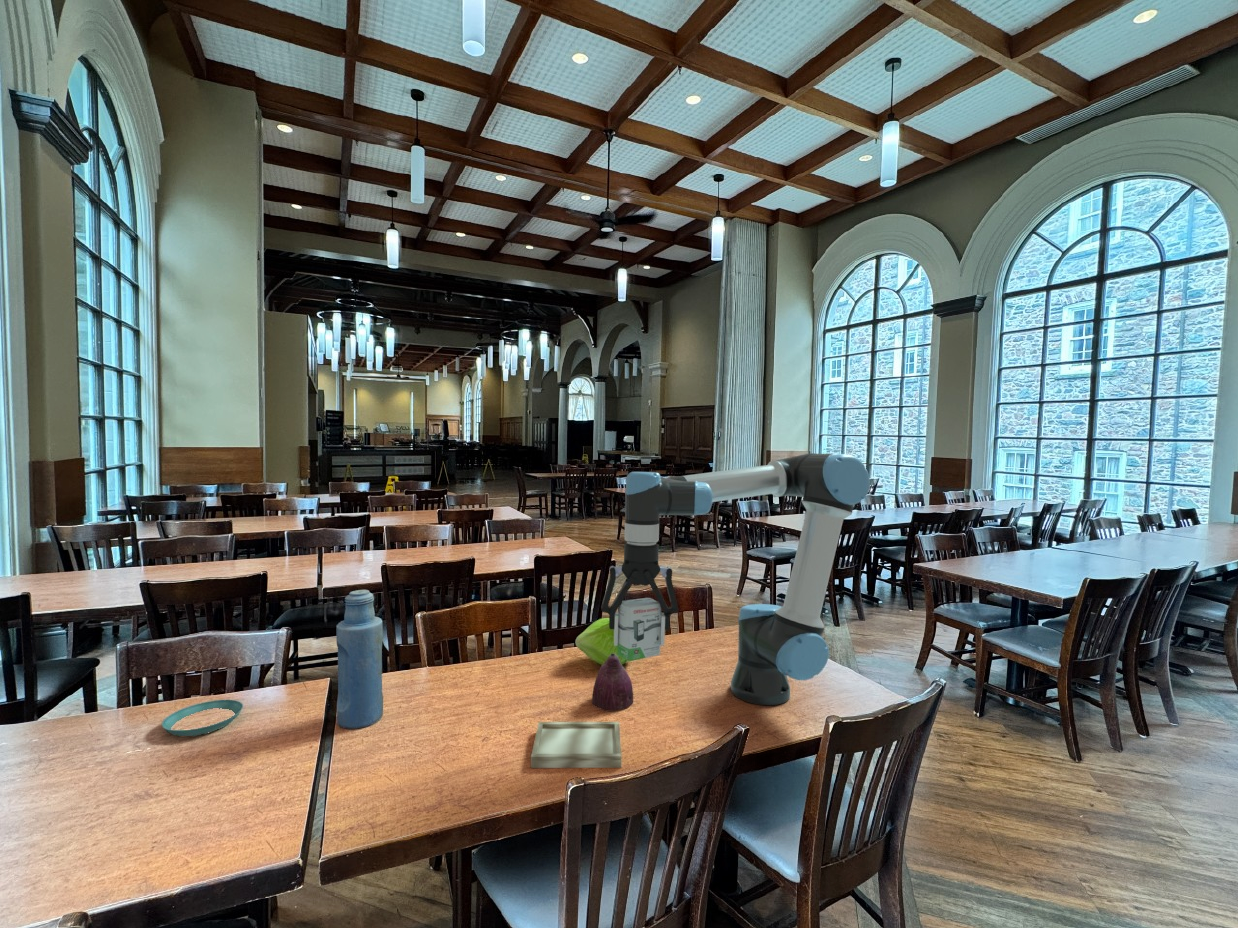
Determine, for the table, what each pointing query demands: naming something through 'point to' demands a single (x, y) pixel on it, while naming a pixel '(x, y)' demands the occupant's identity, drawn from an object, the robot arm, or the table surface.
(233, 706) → the teal round ring piece
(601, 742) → the tray
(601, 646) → the lettuce
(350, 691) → the bottle
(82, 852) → the table surface
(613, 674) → the vegetable
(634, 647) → the ink box
